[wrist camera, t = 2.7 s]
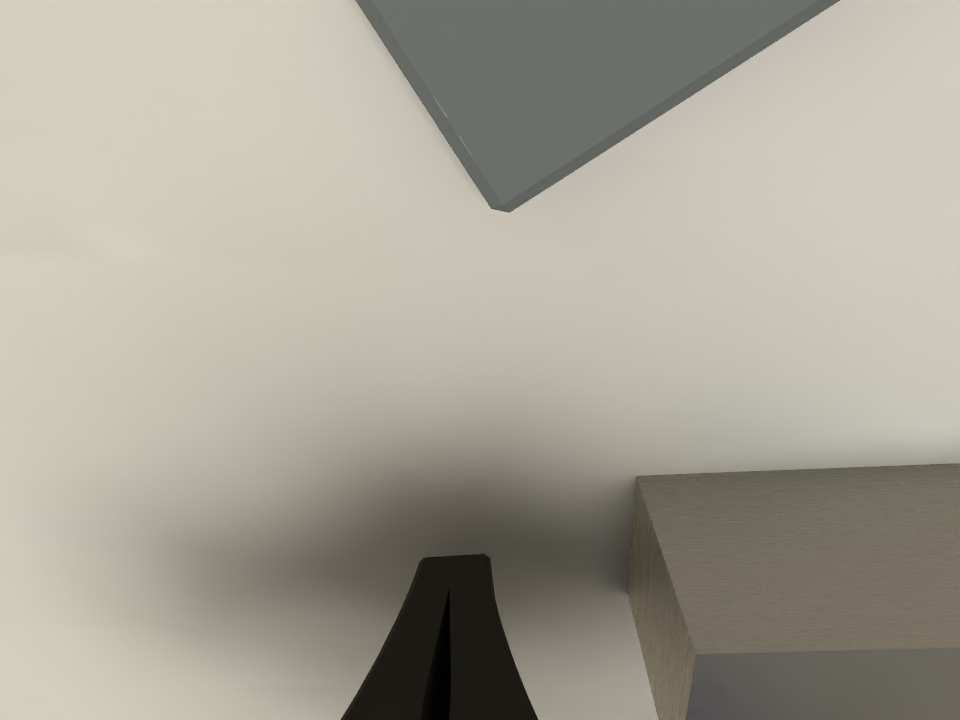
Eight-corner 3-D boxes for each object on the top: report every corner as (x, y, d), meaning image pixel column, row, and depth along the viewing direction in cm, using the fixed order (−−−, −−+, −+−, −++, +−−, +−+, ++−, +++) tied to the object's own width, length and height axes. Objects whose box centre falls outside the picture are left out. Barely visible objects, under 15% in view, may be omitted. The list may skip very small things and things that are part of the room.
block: (984, 577, 14) (1166, 777, 10) (626, 588, 14) (675, 785, 10) (1039, 455, 12) (1279, 639, 8) (634, 470, 13) (696, 653, 9)
